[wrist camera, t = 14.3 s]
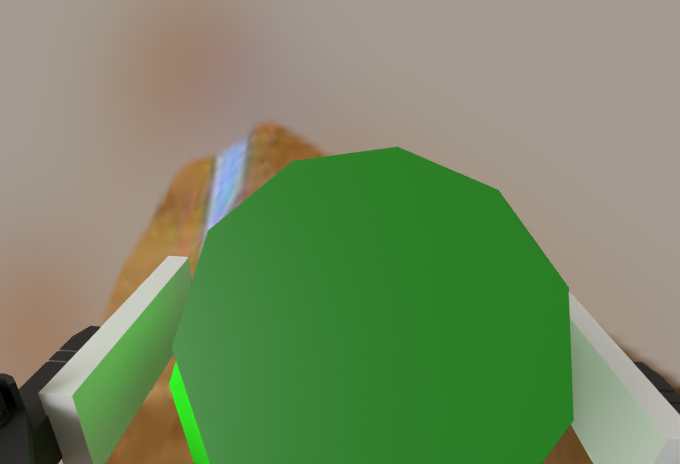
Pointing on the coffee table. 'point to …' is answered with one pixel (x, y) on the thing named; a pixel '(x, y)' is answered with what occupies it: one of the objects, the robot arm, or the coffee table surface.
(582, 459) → the coffee table surface
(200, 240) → the coffee table surface
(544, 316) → the plastic bottle
